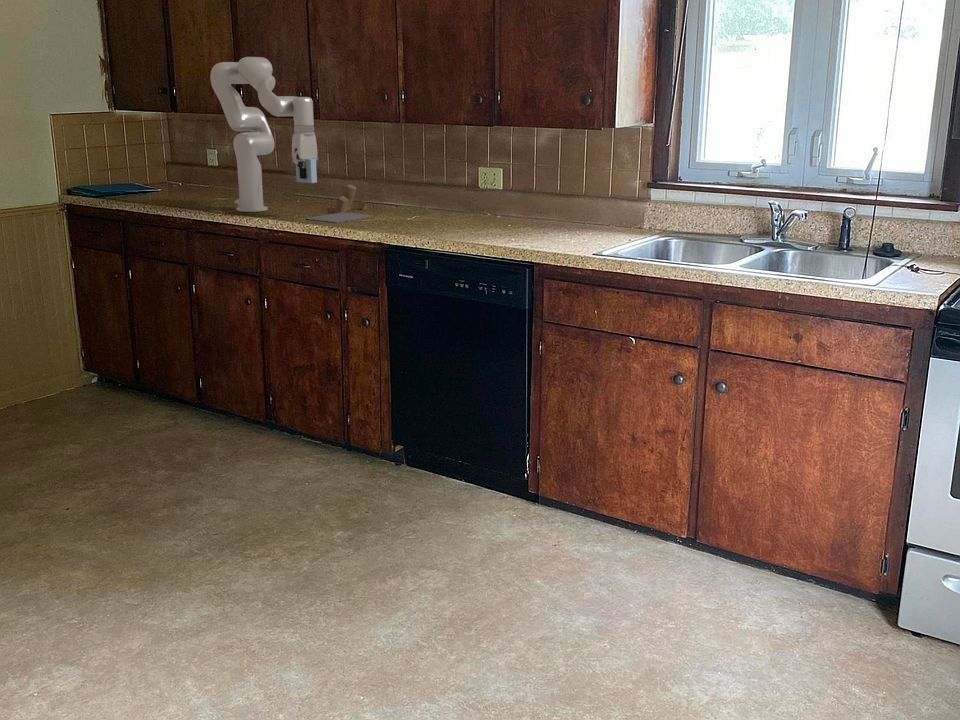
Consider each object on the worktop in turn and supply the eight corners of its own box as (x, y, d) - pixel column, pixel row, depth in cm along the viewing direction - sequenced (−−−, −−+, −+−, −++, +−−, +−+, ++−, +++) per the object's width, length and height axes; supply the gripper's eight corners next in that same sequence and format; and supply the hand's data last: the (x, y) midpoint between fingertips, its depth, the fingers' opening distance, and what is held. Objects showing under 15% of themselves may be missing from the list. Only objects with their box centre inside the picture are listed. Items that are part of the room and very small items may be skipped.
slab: (296, 181, 374) (295, 158, 371) (302, 181, 376) (300, 158, 374) (311, 183, 370) (310, 159, 367) (317, 182, 372) (315, 159, 370)
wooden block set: (341, 220, 388) (348, 197, 383) (325, 210, 390) (332, 187, 385) (366, 213, 403) (373, 191, 398) (350, 203, 405) (357, 182, 400)
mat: (305, 219, 371) (305, 218, 370) (342, 213, 388) (342, 212, 388) (336, 223, 362) (336, 221, 362) (372, 216, 380) (372, 215, 380)
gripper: (311, 129, 376) (314, 176, 381) (281, 130, 363) (284, 179, 368) (325, 129, 372) (328, 177, 377) (296, 131, 359) (298, 180, 364)
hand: (306, 177), depth 373 cm, fingers closed on slab, 3 cm apart
